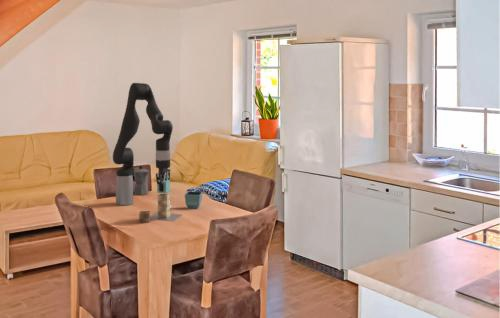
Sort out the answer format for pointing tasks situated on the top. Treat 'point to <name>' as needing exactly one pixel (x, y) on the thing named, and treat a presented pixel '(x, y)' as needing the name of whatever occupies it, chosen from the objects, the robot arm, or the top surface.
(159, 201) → the tower top block
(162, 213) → the tower base block
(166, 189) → the teal block
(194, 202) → the flower pot
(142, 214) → the walnut block
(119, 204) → the robot arm
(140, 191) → the coffeepot
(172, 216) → the slate board
